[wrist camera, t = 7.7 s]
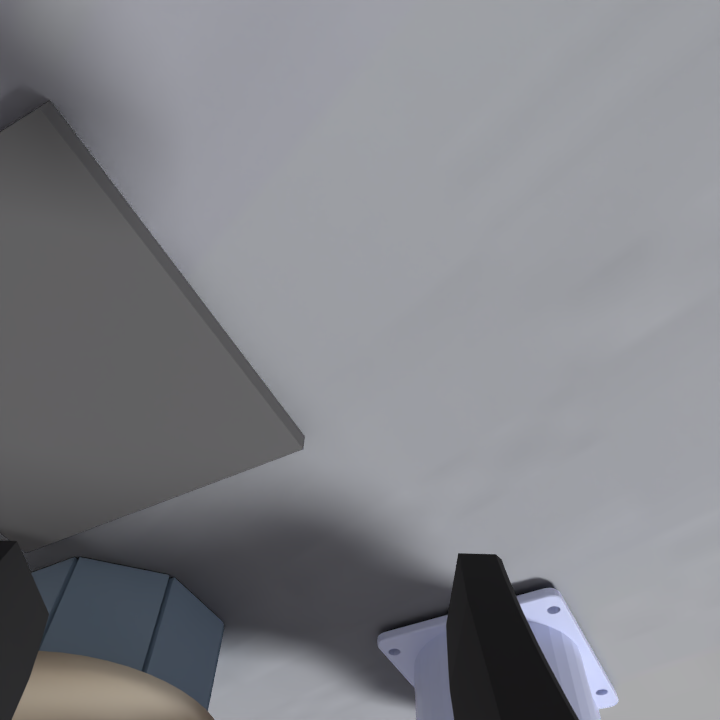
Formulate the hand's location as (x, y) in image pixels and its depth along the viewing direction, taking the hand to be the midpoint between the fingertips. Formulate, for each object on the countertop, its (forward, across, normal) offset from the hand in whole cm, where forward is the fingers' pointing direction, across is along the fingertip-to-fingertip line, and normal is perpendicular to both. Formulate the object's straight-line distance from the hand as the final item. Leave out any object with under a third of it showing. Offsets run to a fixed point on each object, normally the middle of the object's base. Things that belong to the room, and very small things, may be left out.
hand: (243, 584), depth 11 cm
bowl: (+9, +8, +17) cm, 21 cm away
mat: (+10, +8, +3) cm, 13 cm away
